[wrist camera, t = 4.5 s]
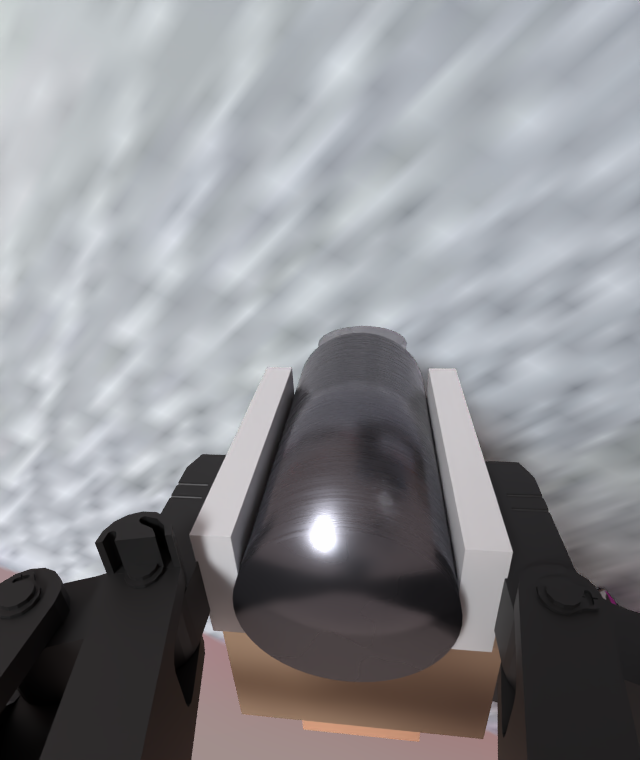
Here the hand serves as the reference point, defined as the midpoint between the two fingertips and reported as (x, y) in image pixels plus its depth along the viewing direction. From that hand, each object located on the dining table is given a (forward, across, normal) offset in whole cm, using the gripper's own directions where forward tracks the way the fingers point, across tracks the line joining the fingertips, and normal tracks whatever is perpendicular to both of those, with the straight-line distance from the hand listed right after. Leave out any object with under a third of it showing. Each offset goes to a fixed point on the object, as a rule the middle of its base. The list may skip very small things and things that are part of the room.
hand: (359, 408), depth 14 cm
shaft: (+4, 0, -8) cm, 9 cm away
